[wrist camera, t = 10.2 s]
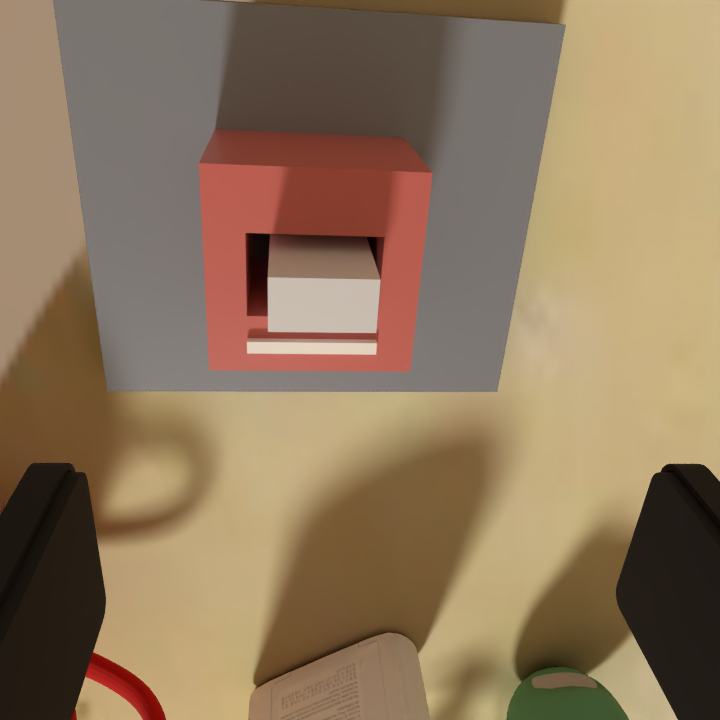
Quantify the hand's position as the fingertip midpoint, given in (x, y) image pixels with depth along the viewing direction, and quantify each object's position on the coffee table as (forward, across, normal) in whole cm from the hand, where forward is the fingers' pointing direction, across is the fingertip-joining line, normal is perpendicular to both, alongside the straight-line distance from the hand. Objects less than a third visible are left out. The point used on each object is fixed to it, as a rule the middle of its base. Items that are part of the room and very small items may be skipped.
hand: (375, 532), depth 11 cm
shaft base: (+17, +1, -1) cm, 17 cm away
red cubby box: (+15, +1, -1) cm, 15 cm away
